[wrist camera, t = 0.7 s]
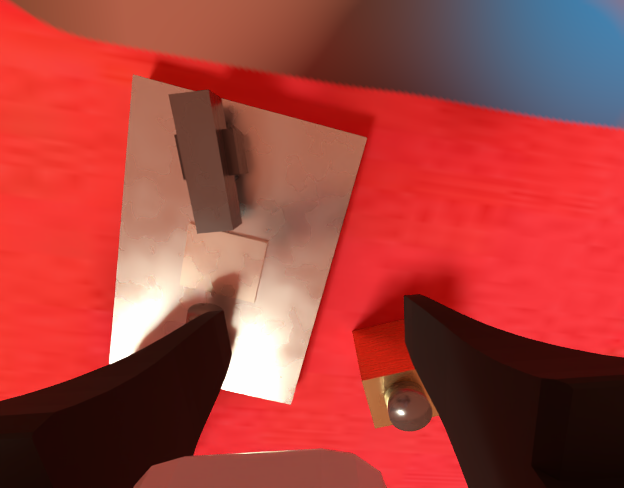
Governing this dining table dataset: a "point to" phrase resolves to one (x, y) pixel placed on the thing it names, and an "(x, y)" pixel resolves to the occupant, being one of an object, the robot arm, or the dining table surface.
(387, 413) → the tan block with knob
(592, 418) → the robot arm
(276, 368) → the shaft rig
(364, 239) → the dining table surface
